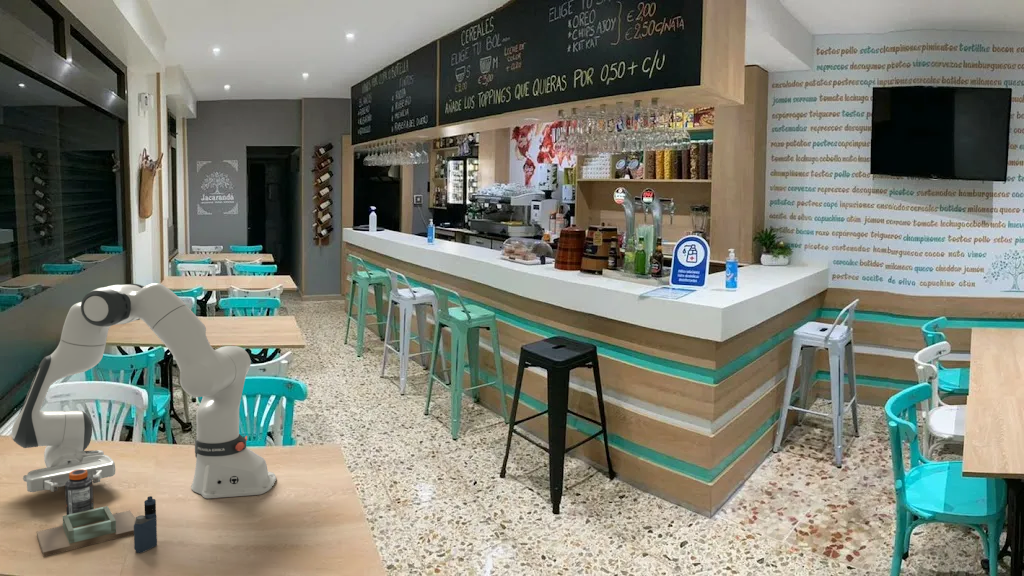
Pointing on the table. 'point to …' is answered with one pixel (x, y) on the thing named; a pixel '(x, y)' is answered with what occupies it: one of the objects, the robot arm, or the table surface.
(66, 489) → the pill bottle
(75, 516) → the socket board
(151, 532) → the vaping device
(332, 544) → the table surface
